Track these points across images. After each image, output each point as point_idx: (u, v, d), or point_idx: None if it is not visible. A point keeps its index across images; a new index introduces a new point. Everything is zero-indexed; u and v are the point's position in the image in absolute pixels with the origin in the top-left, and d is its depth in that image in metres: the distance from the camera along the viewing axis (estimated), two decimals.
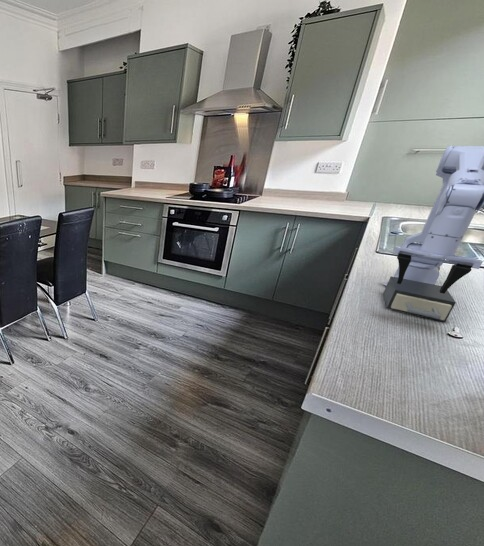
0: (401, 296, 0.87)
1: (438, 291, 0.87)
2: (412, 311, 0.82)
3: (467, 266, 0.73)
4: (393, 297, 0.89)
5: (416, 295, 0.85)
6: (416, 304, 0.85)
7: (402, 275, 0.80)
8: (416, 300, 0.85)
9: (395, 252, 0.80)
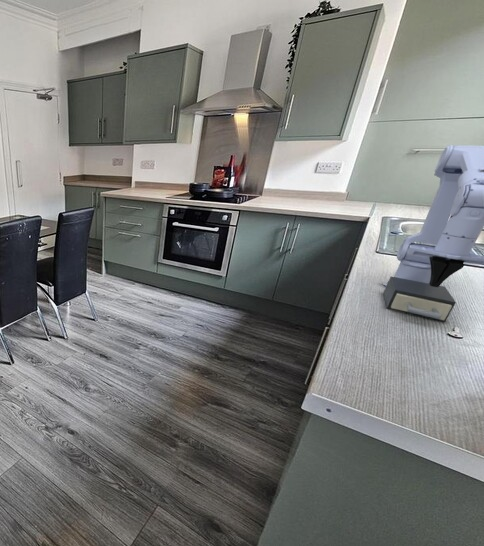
0: (401, 296, 0.87)
1: (438, 291, 0.87)
2: (412, 311, 0.82)
3: None
4: (393, 297, 0.89)
5: (416, 295, 0.85)
6: (416, 304, 0.85)
7: (436, 278, 0.79)
8: (416, 300, 0.85)
9: (410, 252, 0.81)
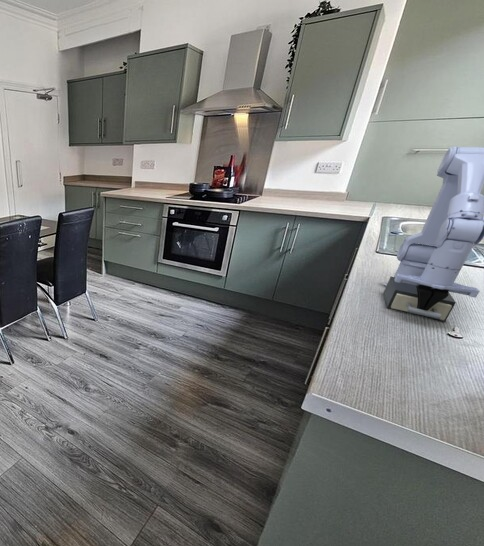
0: (401, 296, 0.87)
1: None
2: (412, 311, 0.82)
3: None
4: (393, 297, 0.89)
5: (416, 295, 0.85)
6: (416, 304, 0.85)
7: (422, 306, 0.82)
8: (416, 300, 0.85)
9: (397, 280, 0.84)
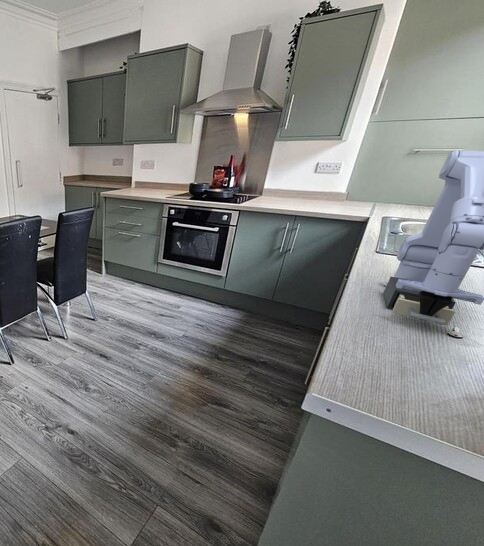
0: (403, 301, 0.84)
1: None
2: (414, 316, 0.80)
3: None
4: (393, 297, 0.89)
5: (416, 295, 0.85)
6: (418, 309, 0.83)
7: (425, 313, 0.79)
8: (418, 305, 0.82)
9: (399, 286, 0.81)
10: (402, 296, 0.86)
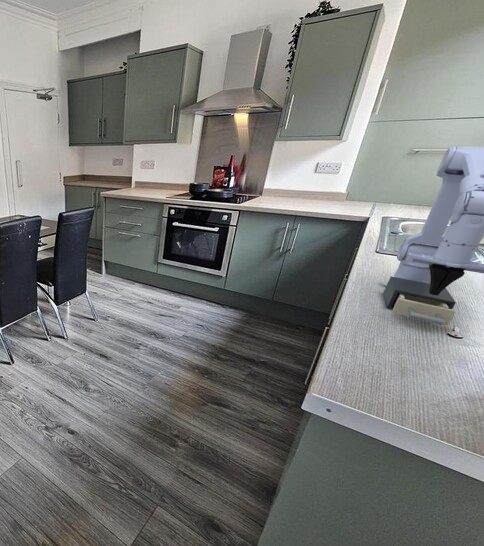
0: (403, 301, 0.84)
1: None
2: (414, 316, 0.80)
3: None
4: (393, 297, 0.89)
5: (416, 295, 0.85)
6: (418, 309, 0.83)
7: (436, 286, 0.77)
8: (418, 305, 0.82)
9: (409, 260, 0.79)
10: (402, 296, 0.86)
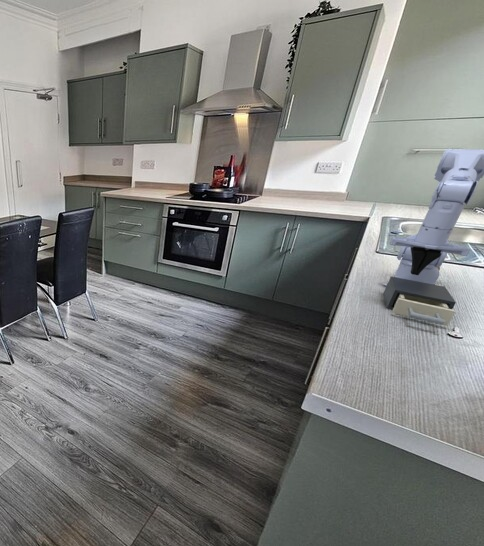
0: (403, 301, 0.84)
1: (438, 291, 0.87)
2: (414, 316, 0.80)
3: None
4: (393, 297, 0.89)
5: (416, 295, 0.85)
6: (418, 309, 0.83)
7: (416, 267, 0.86)
8: (418, 305, 0.82)
9: (392, 243, 0.88)
10: (402, 296, 0.86)
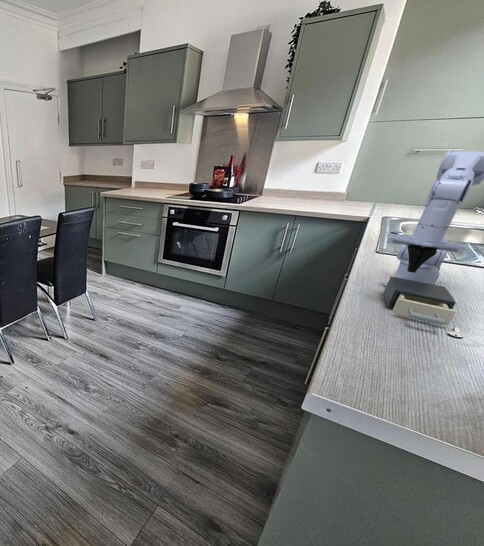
0: (403, 301, 0.84)
1: (438, 291, 0.87)
2: (414, 316, 0.80)
3: (452, 251, 0.83)
4: (393, 297, 0.89)
5: (416, 295, 0.85)
6: (418, 309, 0.83)
7: (413, 264, 0.88)
8: (418, 305, 0.82)
9: (390, 241, 0.89)
10: (402, 296, 0.86)
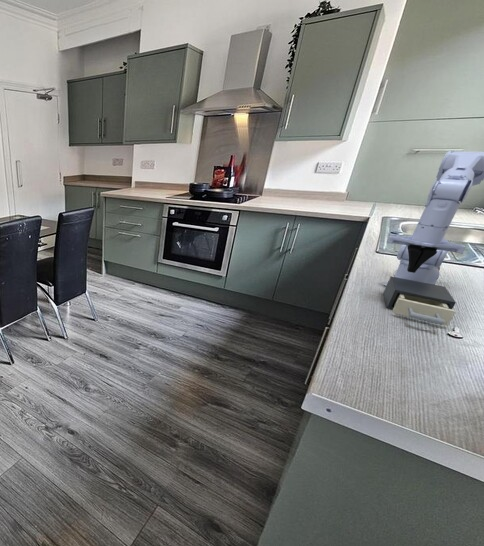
0: (403, 301, 0.84)
1: (438, 291, 0.87)
2: (414, 316, 0.80)
3: (452, 251, 0.83)
4: (393, 297, 0.89)
5: (416, 295, 0.85)
6: (418, 309, 0.83)
7: (413, 264, 0.88)
8: (418, 305, 0.82)
9: (390, 241, 0.89)
10: (402, 296, 0.86)
